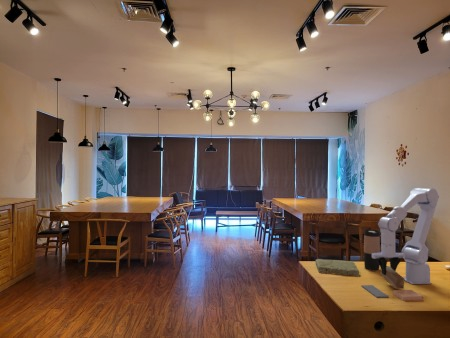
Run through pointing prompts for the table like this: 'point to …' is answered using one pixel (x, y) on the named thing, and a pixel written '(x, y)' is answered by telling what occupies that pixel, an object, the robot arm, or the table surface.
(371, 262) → the travel mug
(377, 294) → the mat
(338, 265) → the decorative tile
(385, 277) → the brown wooden plank
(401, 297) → the tile
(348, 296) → the table surface
